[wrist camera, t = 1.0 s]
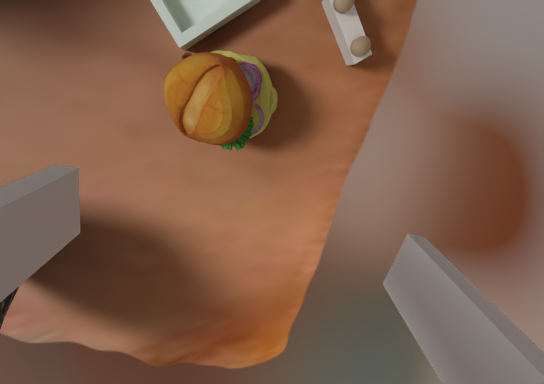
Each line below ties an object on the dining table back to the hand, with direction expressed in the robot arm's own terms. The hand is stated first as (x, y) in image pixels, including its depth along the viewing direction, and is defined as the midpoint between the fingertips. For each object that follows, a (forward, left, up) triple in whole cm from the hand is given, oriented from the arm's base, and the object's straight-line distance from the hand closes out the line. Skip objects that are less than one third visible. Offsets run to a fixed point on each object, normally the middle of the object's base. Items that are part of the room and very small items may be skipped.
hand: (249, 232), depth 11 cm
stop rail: (-5, +14, -25) cm, 29 cm away
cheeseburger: (-5, -1, -25) cm, 26 cm away
